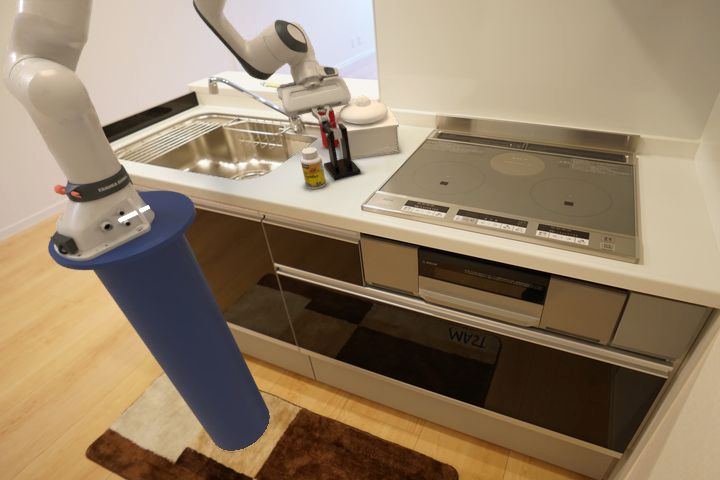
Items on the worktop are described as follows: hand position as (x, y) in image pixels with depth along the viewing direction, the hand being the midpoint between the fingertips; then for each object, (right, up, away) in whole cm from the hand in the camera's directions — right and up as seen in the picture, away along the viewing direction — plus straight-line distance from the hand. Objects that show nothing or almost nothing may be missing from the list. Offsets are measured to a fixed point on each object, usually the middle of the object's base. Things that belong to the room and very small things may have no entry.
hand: (325, 122), depth 122 cm
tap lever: (+3, -5, -3) cm, 6 cm away
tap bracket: (+5, -14, -1) cm, 15 cm away
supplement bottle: (-1, -20, -7) cm, 21 cm away
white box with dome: (+12, -3, +12) cm, 17 cm away
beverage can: (0, -3, +13) cm, 13 cm away
